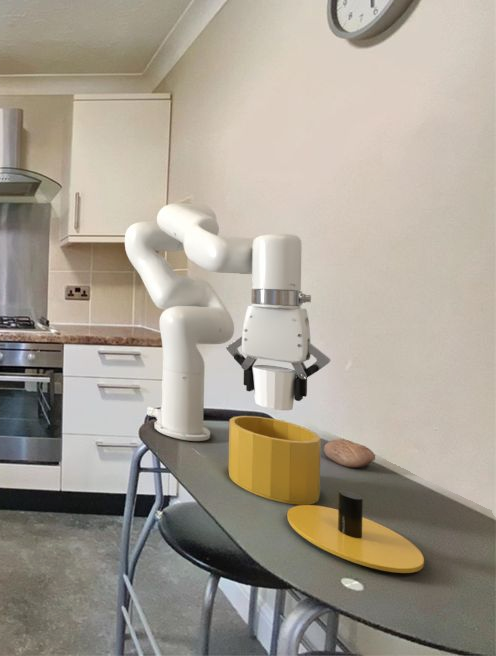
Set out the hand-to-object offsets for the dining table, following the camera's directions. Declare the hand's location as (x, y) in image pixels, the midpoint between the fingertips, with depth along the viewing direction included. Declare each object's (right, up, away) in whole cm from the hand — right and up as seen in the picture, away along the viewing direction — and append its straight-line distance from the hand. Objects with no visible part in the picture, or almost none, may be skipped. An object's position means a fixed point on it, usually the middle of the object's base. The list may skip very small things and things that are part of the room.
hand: (273, 394), depth 75 cm
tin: (-1, -17, 0) cm, 17 cm away
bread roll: (+24, -18, +11) cm, 32 cm away
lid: (-1, -16, -17) cm, 23 cm away
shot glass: (0, -2, 0) cm, 2 cm away
